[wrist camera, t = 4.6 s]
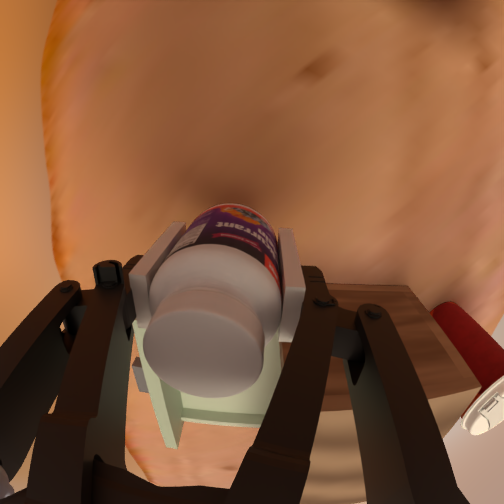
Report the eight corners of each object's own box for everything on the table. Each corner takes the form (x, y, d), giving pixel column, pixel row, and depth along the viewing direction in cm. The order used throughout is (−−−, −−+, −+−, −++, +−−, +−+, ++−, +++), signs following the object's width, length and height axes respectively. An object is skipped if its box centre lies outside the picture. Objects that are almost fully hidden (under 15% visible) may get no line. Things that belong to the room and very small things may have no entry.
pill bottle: (296, 245, 18) (321, 363, 9) (234, 298, 19) (213, 425, 10) (229, 181, 16) (184, 251, 7) (170, 244, 18) (97, 349, 9)
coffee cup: (400, 336, 30) (452, 437, 16) (445, 281, 28) (523, 368, 14) (436, 356, 32) (483, 440, 18) (476, 309, 29) (539, 384, 15)
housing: (275, 280, 28) (287, 412, 14) (407, 286, 28) (481, 386, 14) (260, 410, 35) (259, 510, 22) (359, 408, 35) (382, 497, 22)
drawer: (136, 274, 27) (105, 315, 21) (303, 286, 27) (315, 333, 21) (160, 401, 35) (147, 443, 28) (280, 412, 35) (282, 457, 28)
